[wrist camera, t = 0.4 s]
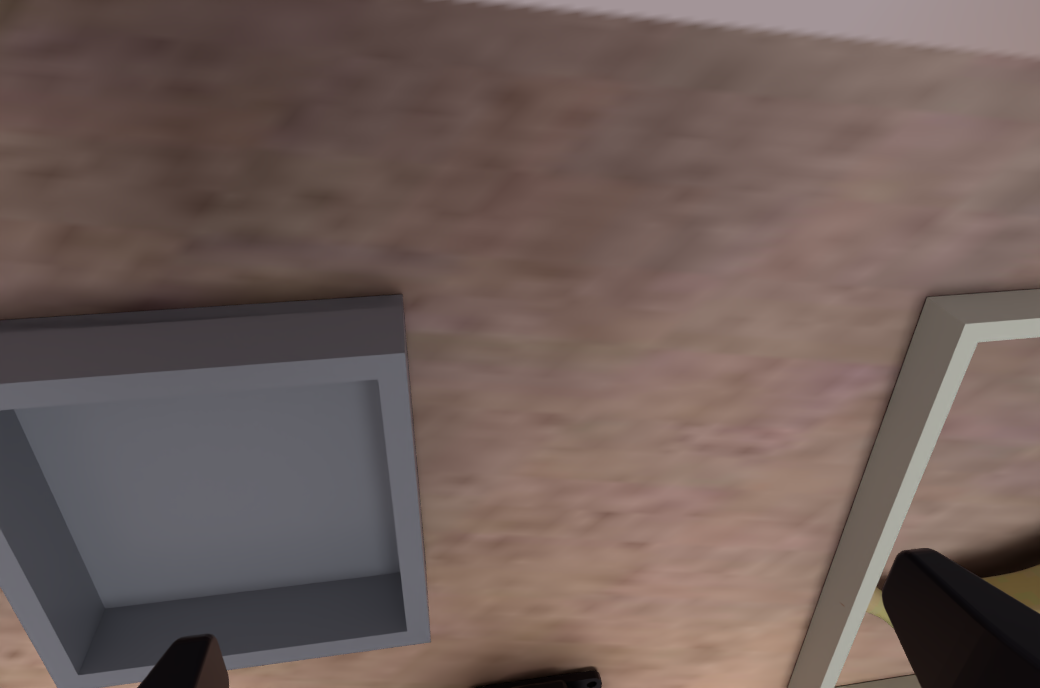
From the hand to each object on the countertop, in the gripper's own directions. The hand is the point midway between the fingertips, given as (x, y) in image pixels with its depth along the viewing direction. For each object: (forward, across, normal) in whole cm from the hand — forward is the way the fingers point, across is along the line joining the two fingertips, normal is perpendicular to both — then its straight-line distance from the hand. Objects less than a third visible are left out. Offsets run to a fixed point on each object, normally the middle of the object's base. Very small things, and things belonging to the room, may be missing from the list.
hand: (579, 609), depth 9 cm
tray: (+14, +8, +9) cm, 19 cm away
